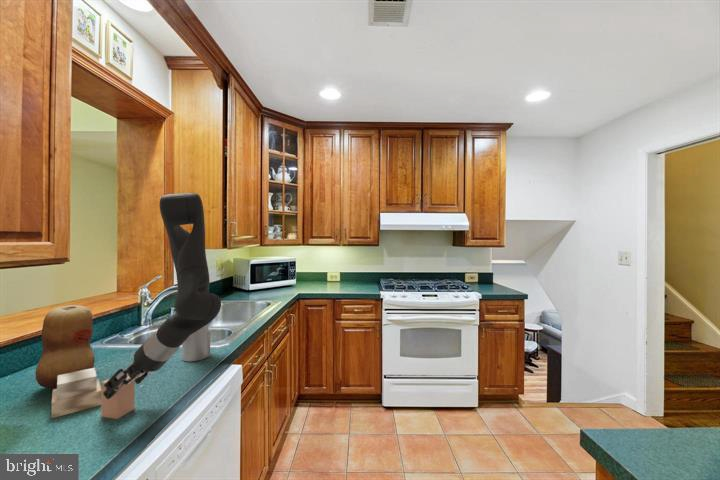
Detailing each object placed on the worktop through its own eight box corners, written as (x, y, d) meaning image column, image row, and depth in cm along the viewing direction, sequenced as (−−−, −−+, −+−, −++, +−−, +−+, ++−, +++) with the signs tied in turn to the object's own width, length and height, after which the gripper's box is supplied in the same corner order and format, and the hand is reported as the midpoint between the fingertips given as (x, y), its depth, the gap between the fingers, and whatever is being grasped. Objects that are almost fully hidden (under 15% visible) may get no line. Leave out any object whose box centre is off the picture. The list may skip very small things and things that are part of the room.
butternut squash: (61, 398, 92) (61, 312, 92) (23, 394, 94) (23, 310, 94) (106, 377, 106) (106, 302, 106) (71, 375, 108) (72, 301, 108)
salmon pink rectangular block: (119, 406, 88) (119, 374, 88) (134, 408, 87) (134, 375, 87) (101, 416, 83) (101, 382, 83) (117, 418, 82) (117, 384, 82)
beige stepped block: (98, 392, 96) (98, 365, 96) (101, 404, 89) (101, 376, 89) (52, 403, 89) (52, 375, 89) (51, 418, 82) (51, 387, 82)
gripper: (171, 329, 90) (137, 367, 92) (125, 346, 76) (86, 389, 78) (187, 350, 89) (152, 387, 91) (144, 370, 75) (103, 413, 77)
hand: (121, 388), depth 85 cm, fingers open, 8 cm apart
